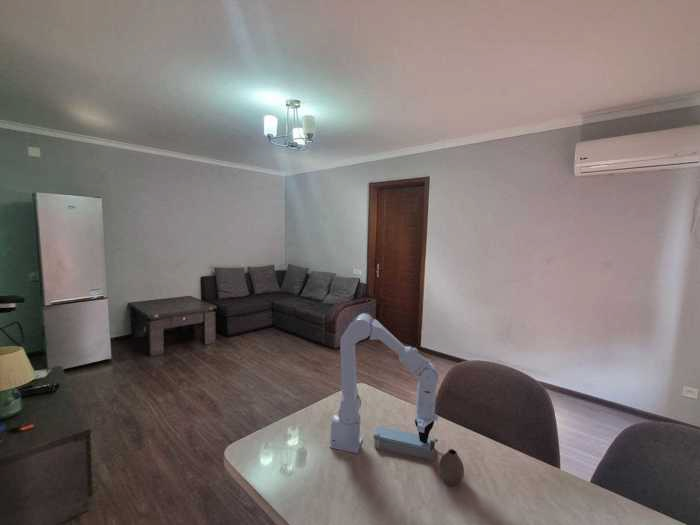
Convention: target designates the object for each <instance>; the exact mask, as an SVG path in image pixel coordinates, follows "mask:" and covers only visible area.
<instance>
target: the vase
mask: <svg viewBox="0 0 700 525" xmlns="http://www.w3.org/2000/svg"><path fill="white" fill-rule="evenodd" d="M438 471H439V475H440V478H441V479H442V481H444V482H445V483H446V484H447V485H449V486H453V487H454V486H458V485H460V483H461V482H462V481H463V478H464V473H465V468H464V463H463V461H462V460H461V458H460V456H459V455H458V452H457V451H456V450H455V449H452V448H451V449H448V450H447V452H446V453H444V454H443V455H441V458H440V459H439V464H438Z"/></svg>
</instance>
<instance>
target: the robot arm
mask: <svg viewBox="0 0 700 525" xmlns="http://www.w3.org/2000/svg"><path fill="white" fill-rule="evenodd" d="M367 338H369V341H370V340H374V341H375V340H379V341H380V342H382V343H383V344H384V345H385V346H387V347H388V348H389V349H391V350H392V351H393V352H394V353H396V354H397V355H398V359H399V361H400V363H402V364H403V365H404V366H405V367H406V368H407V369H409V370H410V371H411V372H412V373H413V374H415V375H417V376H418V384H417V392H416V395H417V396H416V409H415V414H414V416H415V420H414V424H415V427H416V428H417V430H416V431H417V432H418V433H417V434H419V439H420V442H424V443H427V440H428V436H429V435H430V432H431V430H432V429H433V428H434V423H435V421H439V416H438V415H436V414H435V413H436V399H437V398H436V397H437V383H438V382H439V376H438V371H437V367H436V365H435V364H434V362H433V361H432V360H429V359H428V358H425V357H424V356H422V355H421V354H420V353H419V350H418V349H417V348H416V347H412V346H410V345H409V346H408V345H407V346H405V345H404V344H403V343H402V342H401V341H400V340H398V338H396V336H394V335H393V334H392V333H391V332H390V331H389V330H388V329H387V328H386V327H385V326H384V325H383V324H381V322H379V320H377V319H375V318H373V316H372V315H371V314H369V313H366V312H363V313H360V314H359V315H357V316H356V317H354V318H353V319H352V321H351V322H350V323H349V325H348V327H347V328H346V329H345V331H344V332H343V334H342V336H341V337H340V339H339V340H340V341H339V344H340V346H339V347H340V372H341V374H340V375H341V397H340V407H339V409H338V412H337V414H334V415H333V418H332V421H331V425H330V440H329V441H330V443H329V448H331V449H336V450H341V451H346V452H349V453H352V454H353V453H354V454H357V453H358V451H359V449H360V447H361V444H362V441H363V437H362V436H360V434H361V432H360V431H361V414H360V413H359V412H360V408H361V406H362V399H361V397H360V394H359V389H358V384H357V361H356V344H357V343H359V342H360V341H363V340H366V339H367ZM429 437H430V436H429Z"/></svg>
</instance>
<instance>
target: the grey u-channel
mask: <svg viewBox="0 0 700 525" xmlns="http://www.w3.org/2000/svg"><path fill="white" fill-rule="evenodd" d="M438 441H439V440H438V437H434V440H433V439H431V442H430V451H429V450H424V449H420V448H415V447H411V446H406V445H402V444H397V443H393V442H388V441H383V440H379V439H374V449H380V450H384V451H388V452H393V453H399V454H402V455H408V456H413V457H417V458H423V459H426V460H431V461H435V456H436V451H435V450H436V449H435V446H436V443H438Z"/></svg>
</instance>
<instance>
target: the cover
mask: <svg viewBox="0 0 700 525" xmlns="http://www.w3.org/2000/svg"><path fill="white" fill-rule="evenodd" d="M373 439H374V440H375V439H378V441H379V440H383V441H388V442H393V443H397V444H402V445H406V446H411V447H415V448H420V449H424V450H429V451H430V442H431V440H432V437H431V436H428V440H427V443H424V442H420V439H419V433H413V432H409V431H404V430H399V429H394V428H390V427H385V426H380V425H376V427H375V430H374V433H373Z"/></svg>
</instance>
